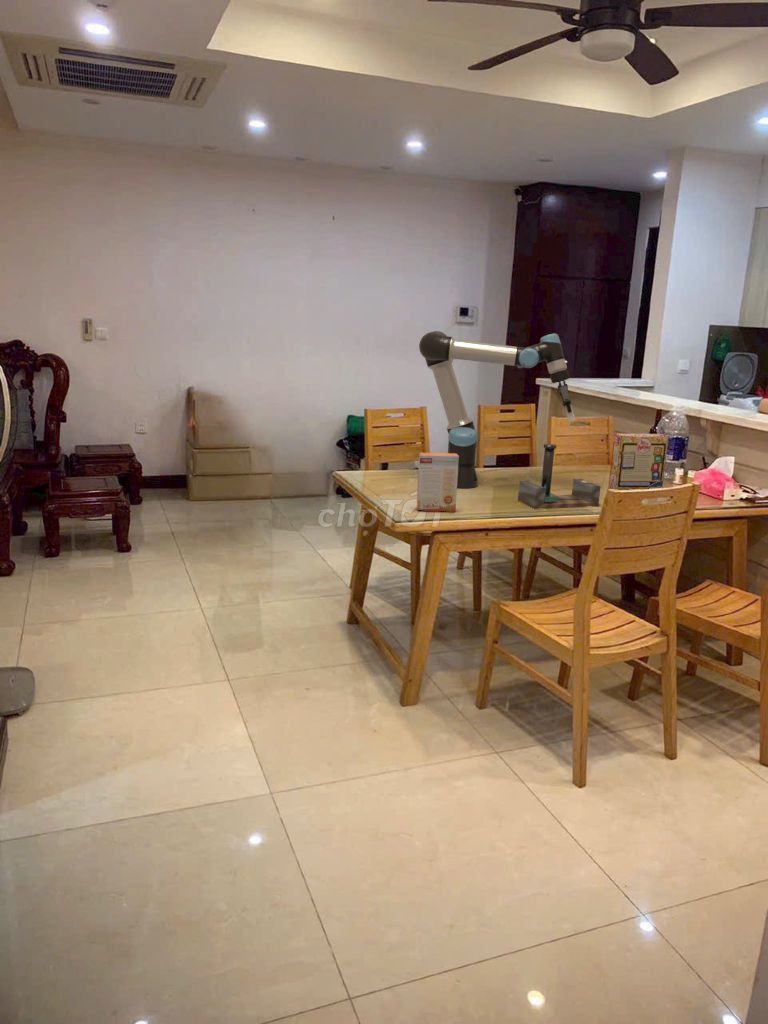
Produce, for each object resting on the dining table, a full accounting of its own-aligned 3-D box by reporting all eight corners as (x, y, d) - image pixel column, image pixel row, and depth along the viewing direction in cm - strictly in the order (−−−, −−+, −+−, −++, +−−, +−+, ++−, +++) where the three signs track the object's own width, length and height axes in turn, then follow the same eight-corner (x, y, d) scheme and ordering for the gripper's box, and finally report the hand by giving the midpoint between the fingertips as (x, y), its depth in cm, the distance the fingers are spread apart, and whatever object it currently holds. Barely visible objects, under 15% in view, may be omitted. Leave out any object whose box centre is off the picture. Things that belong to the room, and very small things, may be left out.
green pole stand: (544, 502, 287) (549, 447, 282) (531, 495, 297) (536, 442, 291) (558, 501, 289) (563, 447, 284) (545, 495, 298) (550, 442, 293)
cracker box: (453, 508, 281) (457, 452, 275) (455, 512, 275) (459, 456, 269) (415, 507, 280) (419, 451, 275) (417, 511, 274) (420, 454, 269)
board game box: (653, 499, 309) (662, 433, 302) (661, 503, 303) (670, 436, 296) (606, 498, 306) (614, 432, 299) (612, 502, 300) (621, 435, 293)
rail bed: (534, 509, 285) (536, 487, 283) (517, 500, 297) (519, 479, 295) (598, 506, 294) (600, 485, 291) (580, 498, 306) (582, 477, 303)
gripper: (567, 365, 300) (581, 417, 300) (567, 372, 324) (580, 420, 325) (549, 371, 302) (562, 422, 302) (549, 377, 326) (562, 425, 326)
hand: (571, 421), depth 313 cm, fingers open, 13 cm apart
